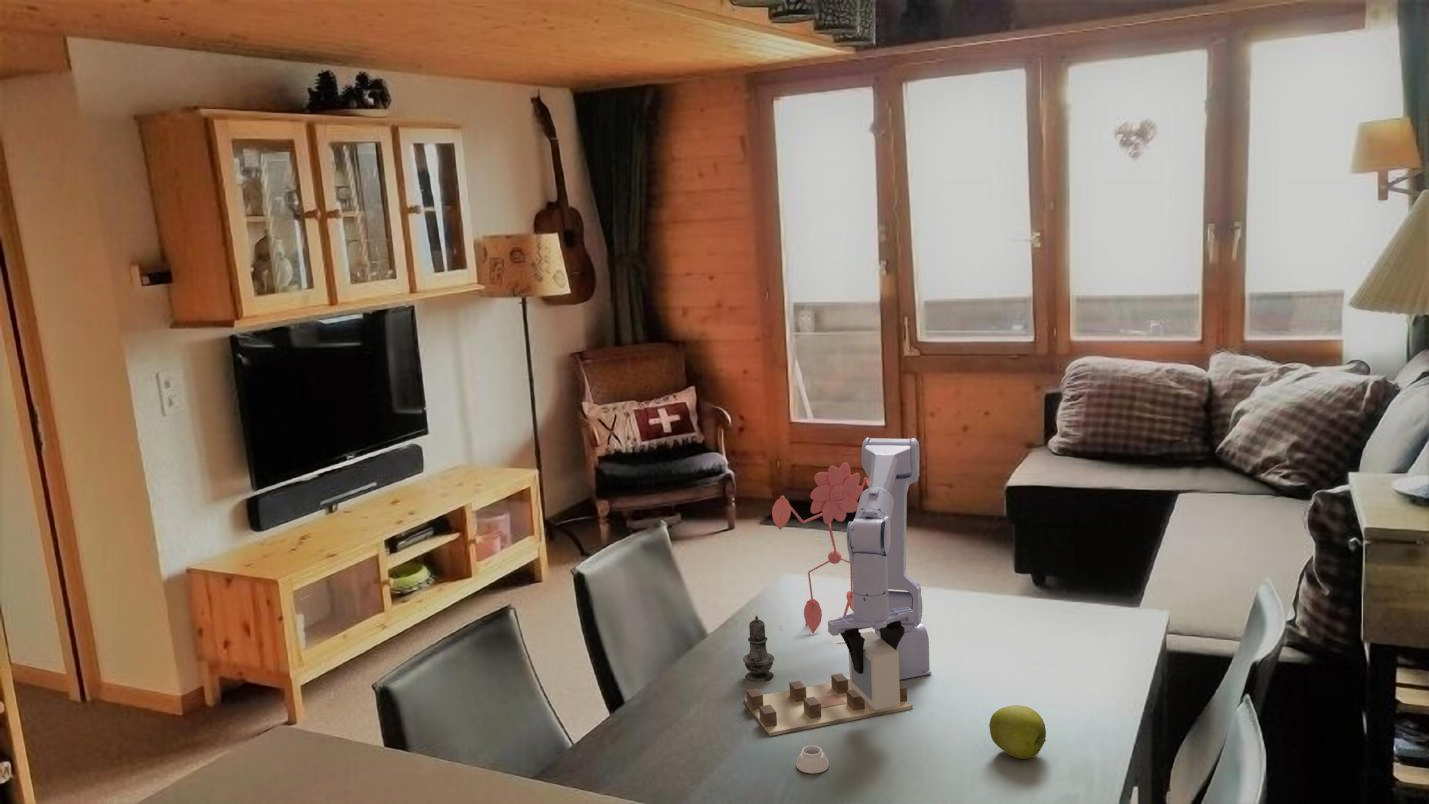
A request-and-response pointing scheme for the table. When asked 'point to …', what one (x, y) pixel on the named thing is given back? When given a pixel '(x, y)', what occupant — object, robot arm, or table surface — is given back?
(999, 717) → the apple
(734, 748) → the table surface
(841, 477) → the pink flower cutout
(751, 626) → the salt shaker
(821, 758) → the lidless jar
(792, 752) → the table surface
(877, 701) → the tall beige pillar block
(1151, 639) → the table surface
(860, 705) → the notch rack
